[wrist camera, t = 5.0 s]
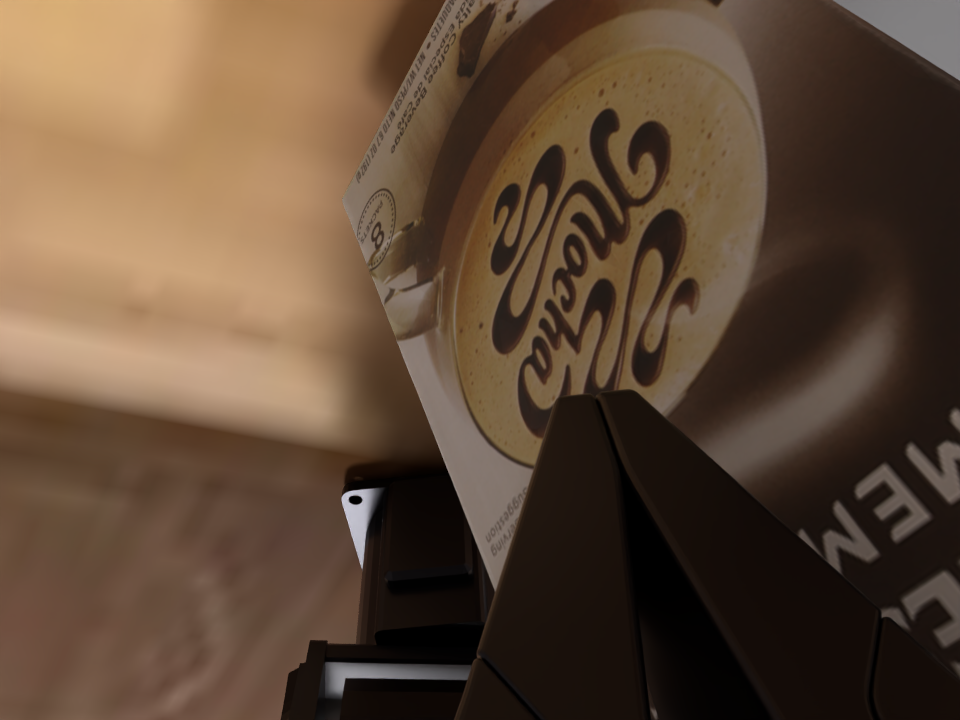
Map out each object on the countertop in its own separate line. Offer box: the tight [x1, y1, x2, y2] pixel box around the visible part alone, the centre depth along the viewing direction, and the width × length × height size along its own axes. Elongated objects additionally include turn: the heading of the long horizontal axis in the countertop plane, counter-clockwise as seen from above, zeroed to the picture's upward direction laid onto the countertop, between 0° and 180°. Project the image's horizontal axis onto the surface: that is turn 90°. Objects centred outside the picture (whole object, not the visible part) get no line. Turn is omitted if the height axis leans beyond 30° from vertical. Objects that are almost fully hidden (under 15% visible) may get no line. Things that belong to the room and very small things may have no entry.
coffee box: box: [342, 0, 960, 720], centre depth 13 cm, size 9×6×16 cm
